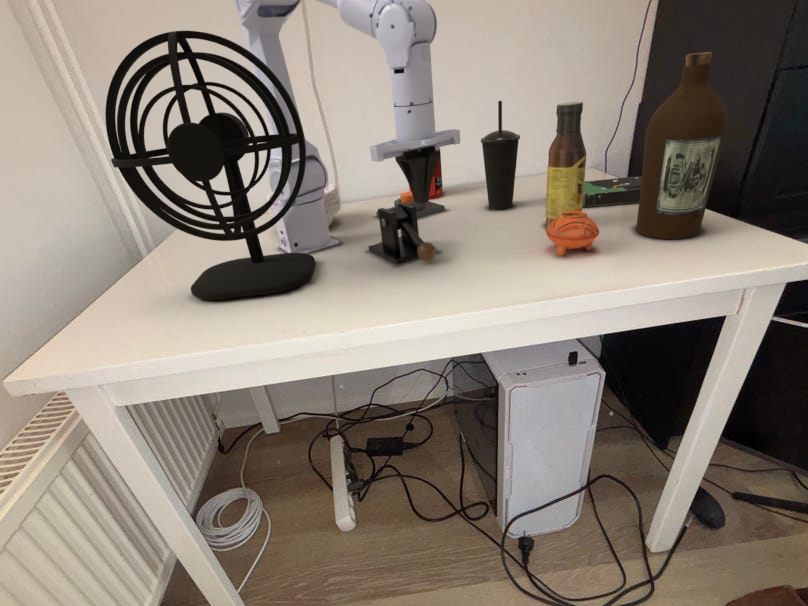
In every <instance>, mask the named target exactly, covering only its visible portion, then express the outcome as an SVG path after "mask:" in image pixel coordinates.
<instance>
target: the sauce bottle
mask: <svg viewBox="0 0 808 606" xmlns="http://www.w3.org/2000/svg"><path fill="white" fill-rule="evenodd" d="M583 110H584V102H583V101H569V102H563V103H558V104H557V105H556V112H555V114H556V117H557V120H556V121H557V122H556V131H555V133H556V135H555V137H554V139H553V141H551V144H550V146H549V149H548V161H547V162H548V163H547V171H546V192H545V194H546V195H545V196H546V198H545V217H546V218H545V225H546V227H547V226H548V225H549V224H550V223H551V222H552V221H553V220H554V219H555V218H557V217H559V216H561V215H562V213H563V212H564V213H565V212H569V211H581V212H583V206H582V205H583V192H584V182H585V179H586V165H587V150H586V147H585V144H584V138H583V135H582V132H581V125H582V124H581V123H582V114H583Z"/></svg>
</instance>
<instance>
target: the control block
mask: <svg viewBox="0 0 808 606" xmlns="http://www.w3.org/2000/svg"><path fill="white" fill-rule="evenodd" d="M393 203H394V206H392V207H388V208H386V209H387V210H389V209H393V208H396V207H398V204H399V203H401V197H400V198H397V199H396V200H394V201H393ZM406 204H409V205H412V206H416V211H417V220H418V219H421V218H424V217H427V216H431V215H434V214H437V213H441V212H444V211H446V207H445V205H443V204H440V203H436V202H433V201H429V200H428V202H426V203H422V204H420V203H417V202H412V203H406ZM375 212H376V214H375V215H376V217H377V218H379V214H378V210H377V211H375Z"/></svg>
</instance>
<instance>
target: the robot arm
mask: <svg viewBox="0 0 808 606" xmlns="http://www.w3.org/2000/svg"><path fill="white" fill-rule="evenodd" d="M233 1H234V2H233V3H234V6H235V8H236V13H237V15H238V19H239V25H240V28H241V33H242V36H243V40H244V43H245V46H246V47H245V48H246V50H248V51H249V52H251V53H252V54H254V55H255V56H256V57H257V58H259V59H260V60H261V61H262V62H263V63H264V64H265V65H266V66H267V67H268V68H269V69H270V70H271V71H272V72H273V73H274V74H275V75H276V77H277V78H278V79H279V80H280V82H281V83H282V85H283V86H284V87H285V89H286V91H287V92H288V94H289V96H290V97H291V99H292V101H293V103H294V105H295V108H296V110H297V112H298V115H299V118H300V121H301V117H300V113H299V109H298V105H297V102H296V101H297V100H296V98H295V93H294V90H293V86H292V83H291V79H290V74H289V71H288V67H287V63H286V59H285V56H284V52H283V48H282V47H283V46H282V43H281V40H280V32H281V30H282V27H283V26H284V24H286V22H287V21H288V20H289V19H290V18H291V16H292V15H293V13H294V12H295V11H297V8H298V7H299V6H300V5H301V3H302V1H303V0H233ZM316 1H317V2H320V3H321V4H324V5H326V6H329V7H332V8H334V9H337V10H338V13H339V16H340V19H341V21H342V22H343V23H344V24H345V25H347V26H349V27H351V28H353V29H355V30H357V31H359V32H361V33H362V34H365V35H367V36H369V37H371V38H374V39H375V40H378V41H377V42H378V43H379V45H380V46H381V48H382V49H383V51H384V54H385V59H386V65H388V68H389V77H390V78H389V79H390V87H391V97H392V108H393V117H394V127H395V136H396V137H395V139H391V140H388V141H385V142H381V143H378V144H373V145H370V146H369V153H370V160H371V161H372V162H377V163H379V162H384V160H388V159H392V158H395V162H396V164H397V165H398V166H399V168H400V170H401V171H402V173H403V175H404V177H405V179H406V181H407V183H408V187H409V186H410V189H411V192H412V195H413V198H414V201H415V202H417V203H420V204H422V203H426V202H428V201H429V200H430V199H429V193H430V187H431V183H432V178H433V175H434V172H435V169H436V167H437V164H438V162H439V160H440V158H441V159H442V156H441V155H442V154H441V155H440V153H441V150H440V151H437V150H435V148H438V147H440V148H441V147H446V146H447V147H448V146H450V145H460V144H461V130H460V129H455V128H452V129H446V130H438V131H436V119H435V117H436V116H435V103H434V85H433V69H432V55H431V44H433V41H434V39H435V37H436V35H437V29H438V19H437V15H436V12H435V10H434V8H433V6H432V5H431V4H430V3H429V2H428V1H426V0H316ZM250 64H251V67H252V70H253V74H254V75H255V76H256V77H257V78H259V79H260V80H261V81H262V82H263V83H264V85H265V86H266V87H267V88H268V89H269V90H270V92H271V93H272V94H273V96H274V97H275V99H276V100H277V102H278V104H279V106H280V107H281V109H282V111H283V114H284V116H285V118H286V121H287V124H288V127H289V131H290V134H291V133H297V132H296V129H295V125H294V122H293V119H292V116H291V114H290V112H289V109H288V107H287V105H286V103H285V101H284V100H283V98H282V96H281V95H280V93H279V92H278V90H277V89H276V87H275V86H274V85H273V83H272V82H271V81H270V80H269V79H268V77H267V76H266V75H265V74H264V73H263V72H262V71H261V70H260V69H259V68H258V67H256V66H255V65H254V64H253V63H252V62H250ZM261 101H262V100H261ZM262 105H263V109H264V112H265V115H266V119H267V123H268V126H269V130H270V133H271V135H275V134H278V131H277V128H276V125H275V123H274V121H273V118H272V116H271V114H270V112H269V111H268V109H267V107H266V106H265V104H264V103H263V101H262ZM301 122H302V121H301ZM304 137H305V145H306V166H305V173H304V178H303V182H302V185H301V188H300V191H299V193H298V195H297V197H296V199H295V201H294V203H293V204H292V206H291V207H290V209H289V210H288V211H287V213H286V214H285V215H284V216H283V217H282V218H281V219H280V220H279V221H278V222H277V223H276V224H275V229H276V231H277V235H278V240H279V243H280V245H279V248H280V249H282V250H283V251H285V253H305V254H310V253H313V252H316V251H320V250H322V249H327V248H330V247H333V246H337V245H339V244H340V241H339V240H337V239H335V238H333V237H331V232H330V226H328V222H327V216H326V211H325V206H324V201H323V195H324V194H325V191H324V188H325V187H326V186H327V183H329V173H328V170H327V167H326V165H325V163H324V162H323V161H322V158H321V156H320V152H319V149H318V147H317V146H315V145H314V144H312V143H311V142H310V141H308V140H307V139H306V136H305V135H304ZM421 146H422V147H421ZM414 147H418V148H414ZM409 148H413V149H409ZM294 160H295V161H294ZM281 168H282V150H281V148H276V149H272V150H271V156H270V161H269V165H268V168H267V170H268V182H269V188H270V190H271V193H274V192H275V190H276V188H277V185H278V182H279V179H280V174H281ZM298 170H299V144H294V145H292V164H291V170H290V174H289V177H288V180H287V182H286V185H285V187H284V189H283V190H282V192H281V194H280V195H279V196H278V199H279V200H280V201H281V203H282V204H281V205H278V206H275V207H274V208H273V215H274V217H275V216H276V215H277V214H278V213H279V212H280V211H281V210H282V208H283V207H284V206H285V205H286V203H287V202H288V200H289V198H290V196H291V194H292V192H293V189H294V187H295V184H296V180H297V176H298ZM410 189H409V190H410Z"/></svg>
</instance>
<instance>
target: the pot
mask: <svg viewBox="0 0 808 606" xmlns="http://www.w3.org/2000/svg"><path fill="white" fill-rule="evenodd" d="M545 234H546V236H547V238H548V239H549V240H550V241H551V242H552V243H553V244H554V245H556V251H557V255H558V257H563V256H564V254H565V252H566V250H567V249H580V248H582V247H585V251H586V252H588V251H589V250H590V249H592V246H593V243H594V242H595V240H596V238H598V236H599V234H600V229H599V227H598V225H597V223H596V222H595V221H594V220H593V219H592V218H591V217H590V216H588V213H586V212H585V211H582V212H581V211H569V212H565V213H564V212H563V213H562V215H561V216H559V217H557V218H555V219H554V220H553V221H552V222H551V223H550V224H549V225H548V226H547V225H546V228H545Z"/></svg>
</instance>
